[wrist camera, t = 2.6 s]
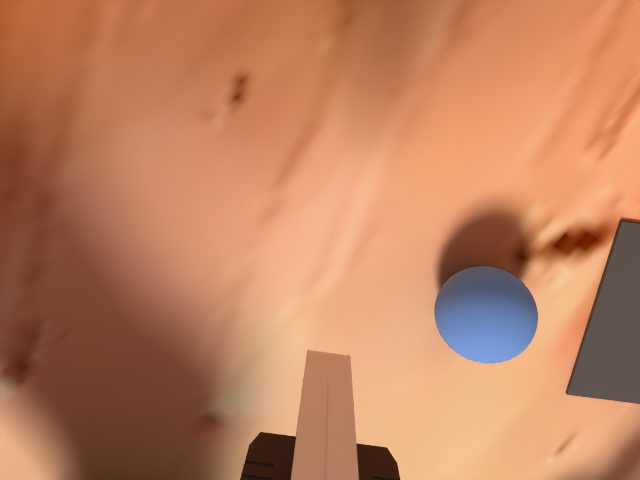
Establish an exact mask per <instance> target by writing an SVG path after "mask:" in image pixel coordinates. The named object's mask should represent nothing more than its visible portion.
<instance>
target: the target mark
mask: <svg viewBox="0 0 640 480" xmlns="http://www.w3.org/2000/svg"><path fill="white" fill-rule="evenodd" d="M566 394H567V395H575V396H582V397H590V398H598V399H606V400H614V401H622V402H629V403H637V404H640V224H639V223H632V222H624V221H620V223H619V226H618V229H617V232H616V235H615V238H614V242H613V245H612V248H611V251H610V254H609V258H608V261H607V264H606V267H605V270H604V273H603V277H602V280H601V283H600V286H599V289H598V292H597V296H596V299H595V302H594V305H593V308H592V311H591V315H590V318H589V321H588V324H587V327H586V330H585V334H584V337H583V340H582V343H581V346H580V350H579V353H578V356H577V359H576V362H575V365H574V369H573V372H572V375H571V378H570V381H569V384H568V388H567V391H566Z"/></svg>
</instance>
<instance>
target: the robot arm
mask: <svg viewBox="0 0 640 480" xmlns="http://www.w3.org/2000/svg"><path fill="white" fill-rule="evenodd" d="M240 480H400V476H399V471H398V465H397V462H396V461H395V459H394V458H393V456H392V455H391V453H390V452H389V450H388V449H387V448H386V447H379V446H371V445H364V444H356V432H355V417H354V403H353V389H352V374H351V360H350V356H348V355H340V354H333V353H325V352H318V351H310V350H307V356H306V364H305V371H304V378H303V386H302V393H301V401H300V408H299V416H298V424H297V431H296V437H294V436H287V435H279V434H272V433H264V432H260V433H259V435H258V436H257V437H256V438H255V439H254V440H253V441H252V443H251V444H250V445H249V449H248V452H247V456H246V460H245V464H244V467H243V471H242V474H241V478H240Z"/></svg>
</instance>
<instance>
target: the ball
mask: <svg viewBox="0 0 640 480" xmlns="http://www.w3.org/2000/svg"><path fill="white" fill-rule="evenodd" d="M435 321H436V325H437V328H438V330H439V332H440V335H441V336H442V338H443V339H444V341H445V342H446V343H447V344H448V346H449V347H450V348H452V349H453V350H454V351H455V352H456V353H458V354H459V355H461V356H463V357H465V358H467V359H469V360H472V361H475V362H481V363H498V362H503V361H507V360H509V359H512V358H514V357H515V356H517V355H519V354H520V353H521V352H522V351H524V350H525V349H526V347H527V346H528V345H529V344H530V342H531V341H532V339H533V337H534V335H535V332H536V329H537V322H538V313H537V307H536V303H535V301H534V298H533V296H532V294H531V293H530V291H529V289H528V288H527V287H526V286H525V284H524V283H523V282H521V281H520V280H519V279H518V278H517V277H515V276H514V275H512V274H511V273H509V272H507V271H505V270H502V269H499V268H496V267H491V266H475V267H470V268H467V269H464V270H461V271H459V272H458V273H456V274H454V275H453V276H452V277H450V278H449V279H448V280H447V281H446V282H445V283H444V285H443V286H442V288H441V289H440V291H439V293H438V295H437V299H436V302H435Z"/></svg>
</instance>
